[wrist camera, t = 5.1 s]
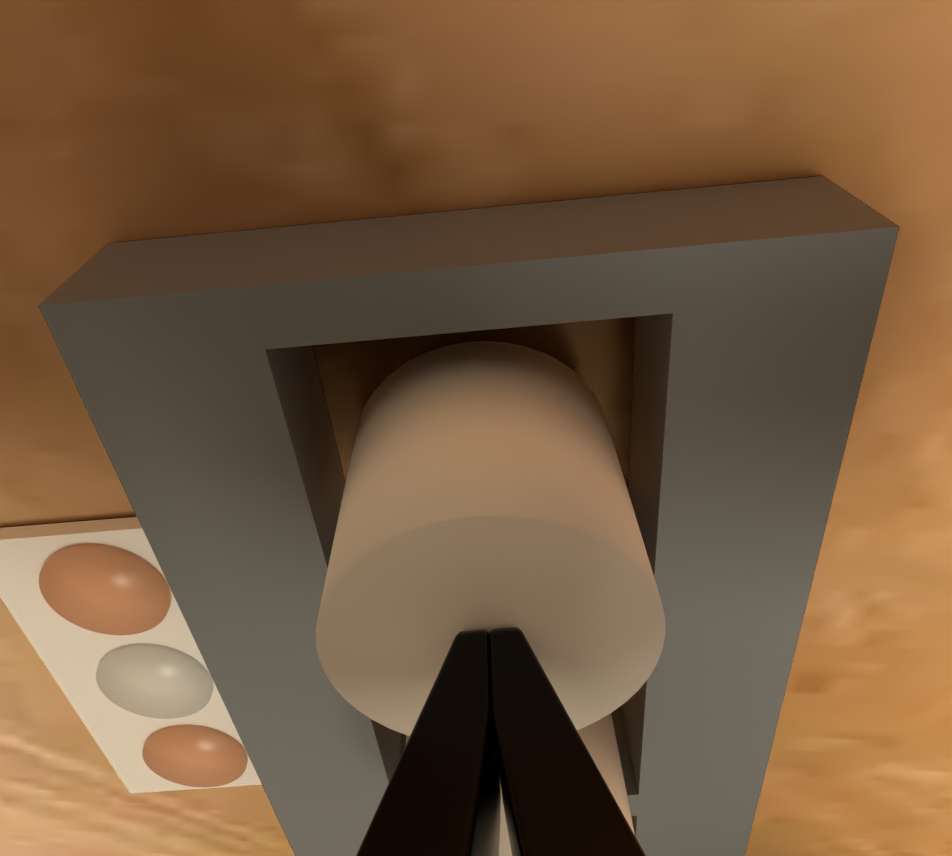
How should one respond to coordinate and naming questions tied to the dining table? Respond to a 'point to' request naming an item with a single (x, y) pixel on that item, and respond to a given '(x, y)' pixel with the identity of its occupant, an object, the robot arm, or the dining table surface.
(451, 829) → the robot arm
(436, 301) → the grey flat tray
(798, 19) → the dining table surface
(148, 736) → the card
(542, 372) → the button
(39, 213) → the dining table surface
